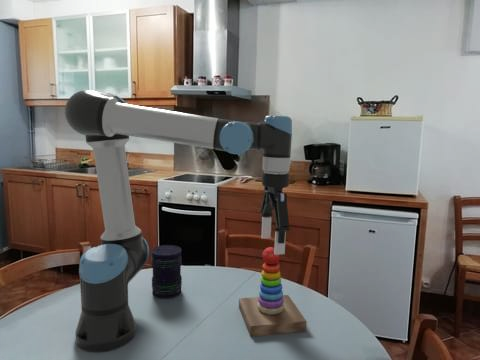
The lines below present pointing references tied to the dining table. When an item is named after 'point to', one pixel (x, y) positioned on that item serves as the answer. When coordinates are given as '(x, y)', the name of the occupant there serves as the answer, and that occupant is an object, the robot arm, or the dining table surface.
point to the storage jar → (166, 271)
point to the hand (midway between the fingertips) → (272, 245)
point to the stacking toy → (270, 284)
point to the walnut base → (271, 318)
